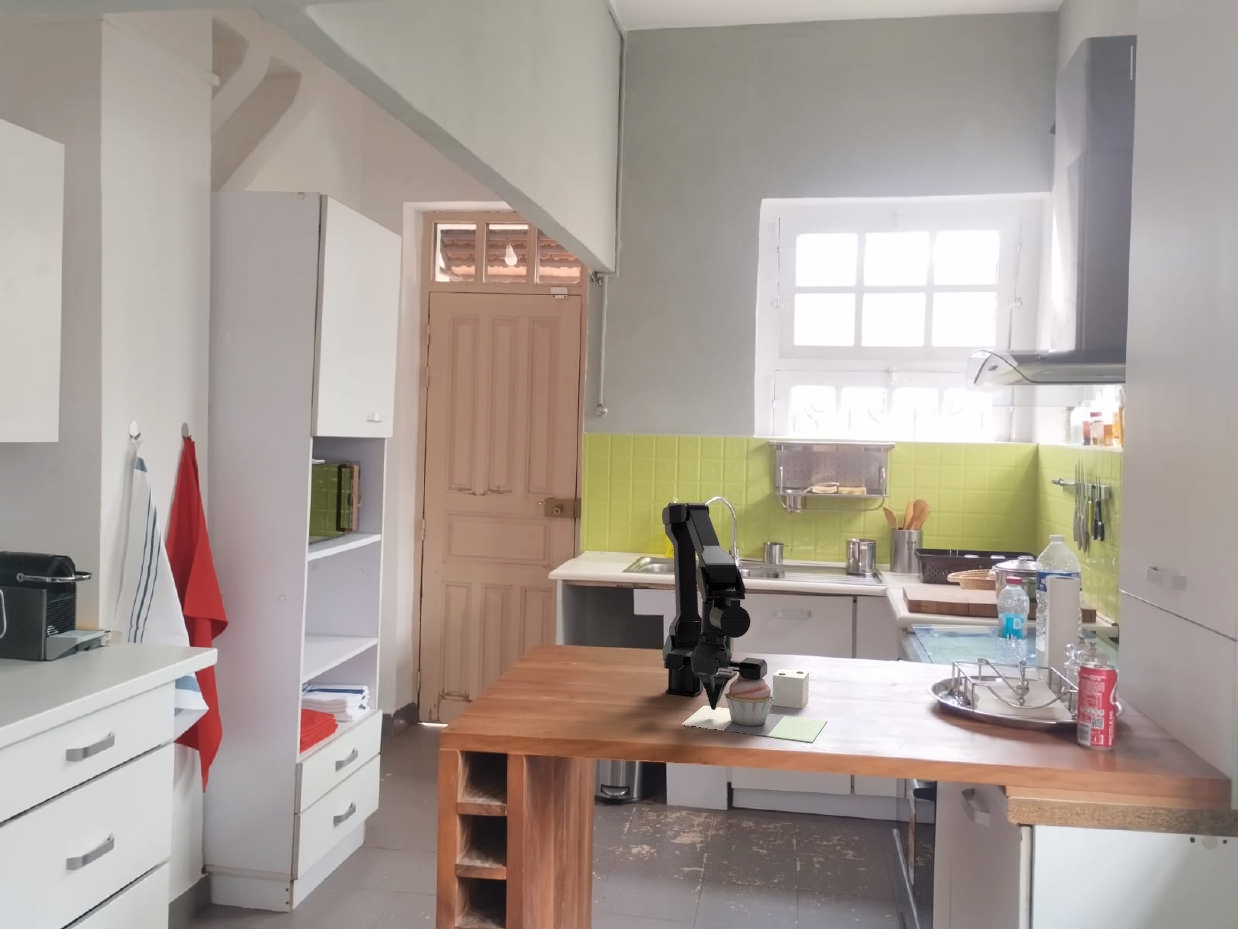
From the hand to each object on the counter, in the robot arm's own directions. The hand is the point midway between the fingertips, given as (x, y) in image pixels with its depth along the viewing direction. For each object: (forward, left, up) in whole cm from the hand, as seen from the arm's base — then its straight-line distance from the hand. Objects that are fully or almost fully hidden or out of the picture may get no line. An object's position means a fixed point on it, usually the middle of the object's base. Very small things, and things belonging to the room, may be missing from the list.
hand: (713, 709), depth 184 cm
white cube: (+11, +17, -2) cm, 20 cm away
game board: (+8, 0, -2) cm, 8 cm away
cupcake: (+7, 0, -2) cm, 7 cm away
